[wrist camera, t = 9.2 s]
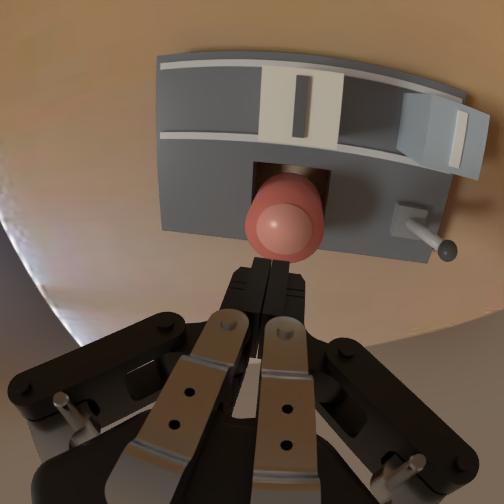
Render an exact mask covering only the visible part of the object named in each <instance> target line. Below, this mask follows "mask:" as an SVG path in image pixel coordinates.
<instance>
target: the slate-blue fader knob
mask: <svg viewBox="0 0 504 504" xmlns="http://www.w3.org/2000/svg"><path fill="white" fill-rule="evenodd" d="M489 120H490V115H488V114H486V113H483V112H481V111H478V110H476V109H473V108H471V107H468V106H466V105H463V104H460V103H457V102H454V101H452V100H449V99H446V98H443V97H440V96H436V95H433V94H420V93H403V102H402V110H401V118H400V126H399V133H398V140H397V146H396V149H397V150H399V151H400V152H402V153H403V154H405V155H406V156H408V157H409V158H411V159H412V160H414V161H415V162H417V163H418V164H419V165H421V166H424V167H428V168H432V169H436V170H440V171H444V172H448V173H452V174H456V175H459V176H463V177H466V178H470V179H473V180H476V181H478V179H479V175H480V170H481V166H482V161H483V156H484V151H485V145H486V139H487V133H488V127H489Z"/></svg>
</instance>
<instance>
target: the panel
mask: <svg viewBox="0 0 504 504" xmlns="http://www.w3.org/2000/svg"><path fill="white" fill-rule="evenodd" d="M262 65H265V66H282V67H295V68H305V69H314V70H322V71H329V72H336V73H343V74H344V82H343V94H342V104H341V115H340V124H339V133H338V142H337V150H335V149H328V148H321V147H313V146H305V145H296V144H287V143H276V142H265V141H258V131H259V113H260V95H261V77H262ZM403 93H420V94H433V95H436V96H440V97H443V98H446V99H449V100H452V101H454V102H457V103H460V104H463V105H465V99H466V92H464V91H461V90H459V89H456V88H453V87H450V86H447V85H445V84H442V83H439V82H436V81H432V80H429V79H426V78H423V77H419V76H416V75H412V74H409V73H405V72H401V71H397V70H393V69H389V68H385V67H380V66H376V65H371V64H366V63H361V62H356V61H350V60H344V59H338V58H331V57H323V56H315V55H306V54H296V53H283V52H264V51H213V52H194V53H181V54H171V55H162V56H157V70H156V137H157V164H158V182H159V198H160V211H161V222H162V230H164V231H173V232H182V233H190V234H199V235H207V236H216V237H224V238H233V239H241V240H248V239H247V236H246V232H245V220H246V216H247V213H248V211H249V209H250V207H251V205H252V203H253V200H254V198H255V194H256V176H257V162H266V163H277V164H286V165H295V166H304V167H312V168H319V169H327V170H329V171H328V179H327V186H326V193H325V200H324V207H323V219H324V236H323V239H322V242H321V244H320V246H319V247H318V249H321V250H329V251H337V252H344V253H352V254H360V255H367V256H375V257H382V258H390V259H397V260H404V261H412V262H419V263H426V264H427V263H428V260H429V257H430V255H431V252H432V249H433V248H434V249H435V250H436V251H437V252H438V255H439V257H440V258H441V259H442V260H443V261H446V262H450V261H452V260H454V259H455V257H456V255H457V246H456V244H455V243H454V242H453V241H451V240H444V239H442V238H441V237H440V236H438V235H437V233H438V230H439V227H440V223H441V220H442V217H443V213H444V209H445V206H446V202H447V198H448V194H449V190H450V186H451V182H452V178H453V174H452V173H448V172H444V171H440V170H436V169H432V168H428V167H424V166H421V165H419V164H418V163H417V162H415V161H414V160H412V159H411V158H409V157H408V156H406V155H405V154H403V153H402V152H400V151H399V150H397V149H396V146H397V140H398V133H399V126H400V118H401V110H402V102H403Z"/></svg>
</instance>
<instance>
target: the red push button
mask: <svg viewBox="0 0 504 504" xmlns="http://www.w3.org/2000/svg"><path fill="white" fill-rule="evenodd" d="M245 232H246V236H247V239H248V241H249V243H250V244H251V246H252V247H253V248H254V250H255V251H256V252H257V253H259V254H260V255H261V256H263V257H264V258H267V259H272V261H273V259H275V260H283V261H290V263H295V262H298V261H301V260H304V259H306V258H307V257H309V256H310V255H312V254H313V253H314V252H315V251H316V250H317V249H318V247H319V246H320V244H321V242H322V239H323V236H324V219H323V210H322V202H321V197H320V194H319V192H318V190H317V188H316V187H315V185H314V184H313V183H312V182H311V181H310V180H308V179H307V178H305V177H303V176H301V175H299V174H295V173H280V174H277V175H274V176H272V177H270V178H269V179H267V180H266V181H265V182H264V183H263V184H262V185H261V187H260V188H259V190H258V192H257V194H256V196H255V198H254V200H253V203H252V205H251V207H250V209H249V211H248V213H247V216H246V220H245Z"/></svg>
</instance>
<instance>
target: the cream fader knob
mask: <svg viewBox="0 0 504 504" xmlns="http://www.w3.org/2000/svg"><path fill="white" fill-rule="evenodd" d="M343 82H344V74H343V73H336V72H329V71H322V70H314V69H305V68H295V67H282V66H265V65H262V77H261V95H260V113H259V131H258V141H265V142H276V143H287V144H296V145H305V146H313V147H321V148H328V149H335V150H337V142H338V133H339V124H340V115H341V104H342V94H343Z"/></svg>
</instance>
